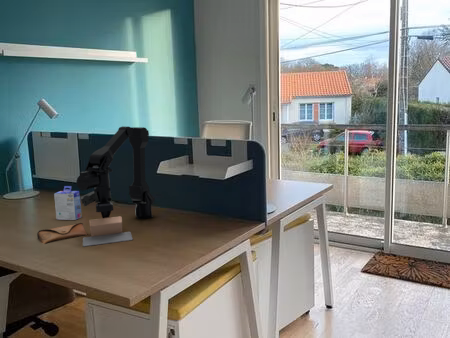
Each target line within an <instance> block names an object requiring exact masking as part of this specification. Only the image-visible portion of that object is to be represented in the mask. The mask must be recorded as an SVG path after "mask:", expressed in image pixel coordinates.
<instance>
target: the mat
mask: <svg viewBox="0 0 450 338" xmlns="http://www.w3.org/2000/svg"><path fill="white" fill-rule="evenodd" d="M130 241H133V235H132V233H131V231H125V232H123V231H122V233H115V234H107V235H99V236H91V235H90V236H85V237H84V236H83V237H82V247H92V246H100V245H107V244H113V243H120V242H130Z"/></svg>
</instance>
